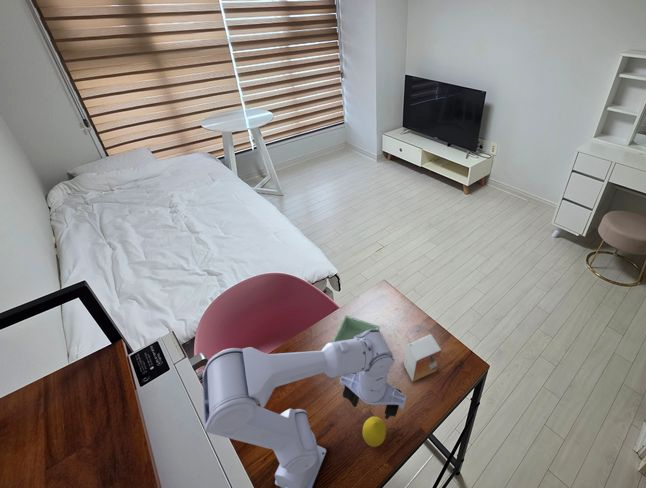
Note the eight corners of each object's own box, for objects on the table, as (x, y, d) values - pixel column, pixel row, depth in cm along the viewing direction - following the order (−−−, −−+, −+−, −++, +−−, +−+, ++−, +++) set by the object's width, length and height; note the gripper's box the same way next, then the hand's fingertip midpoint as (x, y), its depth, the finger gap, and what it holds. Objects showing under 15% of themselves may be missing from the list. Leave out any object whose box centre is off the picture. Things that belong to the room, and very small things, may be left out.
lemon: (389, 437, 79) (391, 422, 75) (374, 458, 76) (375, 443, 71) (373, 420, 82) (373, 405, 78) (357, 439, 79) (357, 424, 74)
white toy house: (412, 382, 91) (416, 361, 85) (403, 364, 95) (405, 343, 89) (437, 371, 93) (442, 350, 87) (426, 354, 98) (431, 333, 92)
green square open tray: (366, 368, 93) (366, 359, 90) (330, 356, 96) (329, 346, 93) (378, 335, 102) (379, 326, 99) (345, 324, 105) (345, 315, 102)
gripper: (411, 370, 69) (406, 402, 77) (348, 349, 73) (349, 380, 80) (402, 404, 63) (398, 434, 71) (334, 379, 67) (337, 410, 75)
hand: (371, 408), depth 75 cm, fingers open, 7 cm apart
